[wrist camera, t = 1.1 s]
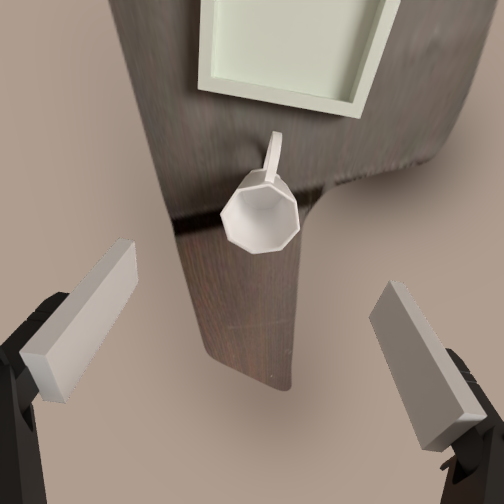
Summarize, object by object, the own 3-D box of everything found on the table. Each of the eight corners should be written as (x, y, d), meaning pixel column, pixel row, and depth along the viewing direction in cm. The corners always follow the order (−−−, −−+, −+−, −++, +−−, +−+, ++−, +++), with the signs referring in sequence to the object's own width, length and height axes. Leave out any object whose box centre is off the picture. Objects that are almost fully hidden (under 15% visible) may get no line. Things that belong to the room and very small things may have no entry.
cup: (226, 209, 32) (215, 247, 26) (240, 116, 27) (231, 135, 20) (285, 220, 33) (289, 261, 26) (311, 131, 27) (325, 155, 20)
